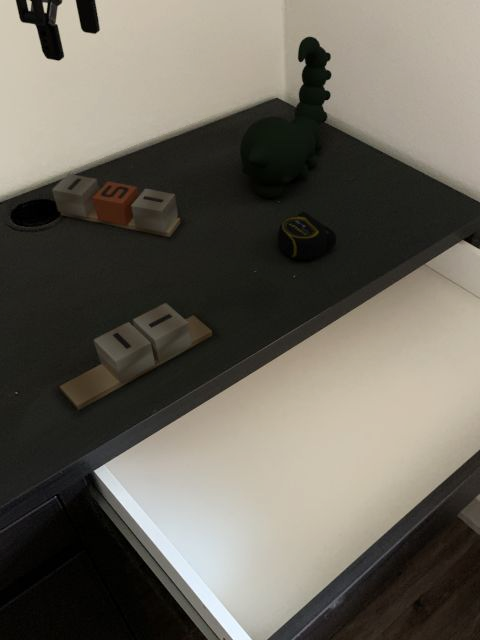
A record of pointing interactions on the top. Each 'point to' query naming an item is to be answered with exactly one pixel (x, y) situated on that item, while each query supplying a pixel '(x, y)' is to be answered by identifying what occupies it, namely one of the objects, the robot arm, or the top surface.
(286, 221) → the tape measure
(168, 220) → the word
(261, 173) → the toy figurine
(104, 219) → the orange block
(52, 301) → the top surface
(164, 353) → the word
